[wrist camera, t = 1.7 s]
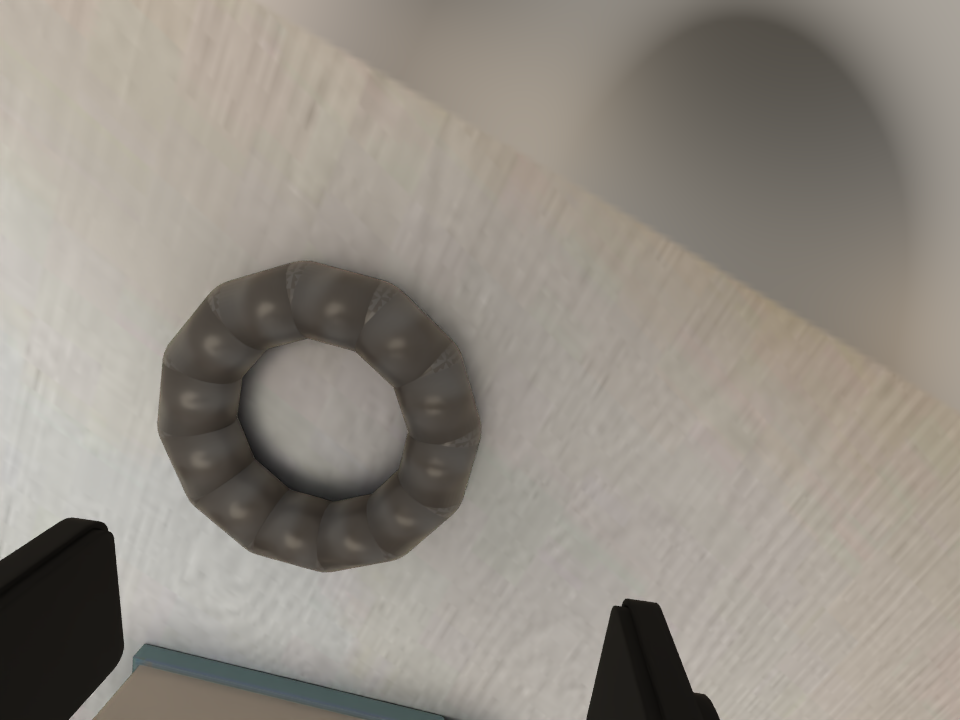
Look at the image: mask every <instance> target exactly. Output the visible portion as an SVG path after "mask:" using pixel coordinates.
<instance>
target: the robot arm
mask: <svg viewBox="0 0 960 720" xmlns="http://www.w3.org/2000/svg"><path fill="white" fill-rule="evenodd" d="M123 650H124V639H123V628H122V618H121V607H120V596H119V586H118V575H117V565H116V554H115V543H114V537H113V534H112V533H111V532H109V531H108V528H107V526H106V525H105V523H103V522H99V521H93V520H86V519H79V518H66V519H64V520H62V521H60V522H59V523H57V524H56V525H54V526H53V527H51V528H49V529H48V530H46V531H45V532H43V533H42V534H40V535H39V536H37V537H36V538H34V539H33V540H31V541H30V542H28V543H27V544H25V545H24V546H22V547H21V548H19V549H17V550H16V551H14V552H13V553H11V554H10V555H8V556H7V557H5V558H4V559H2V560H1V561H0V720H69V719H70V717H71V716H72V715H73V714H74V713H75V712H76V711H77V710H78V709H79V707H80V706H81V705H82V704H83V703H84V702H85V701H86V700H87V699H88V697H89V696H90V695H91V694H92V693H93V692H94V691H95V690H96V688H97V687H98V686H99V685H100V684H101V683H102V682H103V681H104V680H105V678H106V677H107V676H108V675H109V674H110V673H111V672H112V671H113V669H114V668H115V667H116V666H117V664H118V662H119V661H120V659H121V656H122V654H123ZM587 720H720V719H719V717H718V714H717V712H716V710H715V708H714V706H713V704H712V702H711V700H710V699H709V698H708V697H707V696H706V695H705V694H700V693H694V692H693V691H692V688H691V686H690V683H689V680H688V678H687V675H686V673H685V670H684V667H683V665H682V662H681V659H680V657H679V654H678V652H677V649H676V646H675V644H674V641H673V638H672V636H671V633H670V631H669V628H668V625H667V623H666V620H665V618H664V615H663V612H662V610H661V608H660V606H659V605H658V604H657V603H654V602H647V601H640V600H633V599H625V600H624V601H623V604H622V607H621V606H613V608H612V611H611V614H610V619H609V623H608V627H607V632H606V636H605V640H604V645H603V649H602V653H601V658H600V662H599V666H598V671H597V675H596V679H595V684H594V688H593V692H592V697H591V701H590V705H589V710H588V714H587Z"/></svg>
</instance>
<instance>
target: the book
mask: <svg viewBox="0 0 960 720" xmlns="http://www.w3.org/2000/svg"><path fill="white" fill-rule="evenodd" d="M93 720H445V719H444V718H443V716H439V715H435V714H431V713H427V712H423V711H419V710H415V709H411V708H406V707H402V706H398V705H394V704H390V703H386V702H382V701H378V700H374V699H369V698H365V697H361V696H357V695H353V694H349V693H345V692H341V691H336V690H332V689H328V688H324V687H320V686H316V685H312V684H308V683H304V682H299V681H295V680H291V679H287V678H283V677H279V676H275V675H271V674H267V673H262V672H258V671H254V670H250V669H246V668H242V667H238V666H234V665H229V664H225V663H221V662H217V661H213V660H209V659H205V658H201V657H197V656H192V655H188V654H184V653H180V652H176V651H172V650H168V649H164V648H159V647H155V646H151V645H147V644H144V645H143V647H142V648H141V649H140V650H139V651H138V652H137V653H136V654H135V655H134V657H133V671H132V675H131V676H130V677H129V678H128V679H127V680H126V681H125V683H124V684H123V685H122V686H121V687H120V688H119V690H118V691H117V692H116V693H115V694H114V695H113V697H112V698H111V699H110V700H109V701H108V702H107V703H106V705H105V706H104V707H103V708H102V709H101V710H100V712H99V713H98V714H97V715H96V716H95V717H94V718H93Z"/></svg>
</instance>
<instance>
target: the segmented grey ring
mask: <svg viewBox="0 0 960 720" xmlns="http://www.w3.org/2000/svg"><path fill="white" fill-rule="evenodd" d="M307 338H309V339H313V340H316V341H320V342H324V343H327V344H331V345H334V346H338V347H342V348H345V349H349V350H352V351H356V352H357V353H358V354H359V355H360V356H361V357H362V358H363V359H364V360H365V361H366V362H367V363H368V364H369V365H370V366H372V367H373V368H374V369H375V370H376V371H377V372H378V373H379V374H380V375H381V376H382V377H383V378H384V379H385V380H386V381H387V382H389V383H390V384H391V385H392V386H393V387H394V390H395V393H396V396H397V399H398V402H399V405H400V408H401V411H402V414H403V417H404V420H405V423H406V427H407V430H408V434H407V438H406V442H405V447H404V451H403V455H402V459H401V463H400V467H399V470H398V471H396V472H395V473H394V474H393V475H392V476H391V477H390V478H389V479H388V480H387V481H386V482H385V483H384V484H383V485H381V486H380V487H379V488H378V489H377V490H376V491H375V492H374V493H373V494H368V495H363V496H358V497H354V498H349V499H344V500H339V501H335V502H333V501H330V500H326V499H323V498H319V497H315V496H312V495H308V494H305V493H301V492H297V491H294V490H290V489H289V488H288V487H287V486H286V485H285V484H283V483H282V482H281V481H280V480H279V479H278V478H277V477H275V476H274V475H273V474H272V473H271V472H270V471H268V470H267V469H266V468H265V467H264V466H263V465H262V464H260V463H259V462H258V461H257V460H256V459H255V458H254V456H253V453H252V451H251V448H250V446H249V444H248V441H247V439H246V436H245V434H244V432H243V429H242V427H241V424H240V422H239V419H238V417H237V415H238V408H239V401H240V393H241V386H242V378H243V376H244V375H245V374H246V372H247V371H248V370H249V369H250V368H251V367H252V366H253V365H254V363H255V362H256V361H257V360H258V359H259V358H260V357H261V356H262V354H263V353H264V352H265V351H266V350H267V349H269V348H272V347H276V346H280V345H284V344H288V343H291V342H295V341H299V340H303V339H307ZM157 426H158V433H159V436H160V439H161V441H162V443H163V445H164V447H165V450H166V452H167V454H168V456H169V458H170V460H171V463H172V465H173V467H174V469H175V471H176V474H177V476H178V478H179V480H180V482H181V484H182V487H183V489H184V491H185V493H186V495H187V497H188V499H189V501H190V502H191V503H192V504H193V505H194V506H195V507H196V508H197V509H198V510H200V511H201V512H202V513H203V514H204V515H206V516H207V517H208V518H209V519H210V520H212V521H213V522H214V523H215V524H216V525H217V526H219V527H220V528H221V529H222V530H223V531H225V532H226V533H227V534H228V535H229V536H231V537H232V538H233V539H234V540H235V541H237V542H238V543H239V544H240V545H241V546H243V547H244V548H245V549H247V550H248V551H249V552H252V553H254V554H257V555H261V556H264V557H268V558H271V559H275V560H279V561H282V562H286V563H289V564H293V565H296V566H300V567H304V568H307V569H311V570H314V571H318V572H335V571H340V570H345V569H351V568H356V567H361V566H367V565H372V564H377V563H383V562H388V561H393V560H396V559H399V558H401V557H403V556H404V555H406V554H407V553H409V552H410V551H411V550H412V549H413V548H414V547H415V546H417V545H418V544H419V543H420V542H421V541H422V540H424V539H425V538H426V537H427V536H428V535H429V534H430V533H432V532H433V531H434V530H435V529H436V528H437V527H439V526H440V525H441V524H442V523H443V522H444V521H446V520H447V519H448V518H449V517H450V516H451V515H452V514H453V513H454V512H455V511H456V510H457V509H458V508H459V506H460V504H461V502H462V500H463V497H464V494H465V490H466V487H467V483H468V480H469V476H470V473H471V469H472V466H473V462H474V459H475V455H476V452H477V448H478V445H479V441H480V437H481V422H480V418H479V414H478V411H477V407H476V404H475V400H474V397H473V393H472V390H471V386H470V383H469V379H468V376H467V372H466V369H465V365H464V362H463V358H462V355H461V352H460V350H459V349H458V347H457V345H456V344H455V343H454V342H453V341H452V340H451V339H450V338H449V337H448V336H447V335H446V334H445V333H444V332H443V331H442V330H441V329H440V328H439V327H438V326H437V325H436V324H435V323H434V322H433V321H432V320H431V319H430V318H429V317H428V316H427V315H426V314H425V313H424V312H423V311H422V310H421V309H420V308H419V307H418V306H417V305H416V304H415V303H414V302H413V301H412V300H411V299H410V298H409V297H408V296H406V295H405V294H404V293H403V292H402V291H401V290H400V289H399V288H398V287H396V286H395V285H393V284H391V283H389V282H386V281H382V280H379V279H375V278H372V277H368V276H364V275H361V274H357V273H353V272H350V271H346V270H343V269H339V268H335V267H332V266H328V265H324V264H321V263H317V262H313V261H297V262H293V263H289V264H286V265H282V266H279V267H275V268H272V269H269V270H265V271H262V272H258V273H255V274H251V275H248V276H244V277H241V278H237V279H234V280H230V281H227V282H225V283H222V284H220V285H219V286H217V287H216V288H215V289H214V290H213V291H212V292H211V293H210V294H209V295H208V296H207V297H206V299H205V300H204V301H203V302H202V304H201V305H200V306H199V307H198V309H197V310H196V311H195V312H194V313H193V315H192V316H191V317H190V318H189V320H188V321H187V322H186V323H185V324H184V326H183V327H182V328H181V329H180V331H179V332H178V333H177V334H176V336H175V337H174V338H173V339H172V340H171V342H170V343H169V344H168V346H167V348H166V350H165V352H164V356H163V363H162V375H161V386H160V398H159V409H158V421H157Z"/></svg>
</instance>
